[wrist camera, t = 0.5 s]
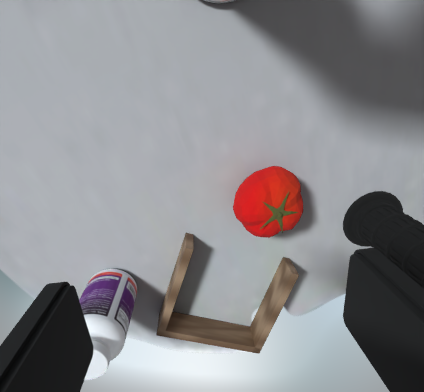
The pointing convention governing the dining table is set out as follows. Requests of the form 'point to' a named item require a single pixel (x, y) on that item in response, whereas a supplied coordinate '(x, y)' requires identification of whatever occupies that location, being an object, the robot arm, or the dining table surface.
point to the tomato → (269, 202)
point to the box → (219, 330)
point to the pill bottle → (107, 315)
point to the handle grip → (387, 231)
